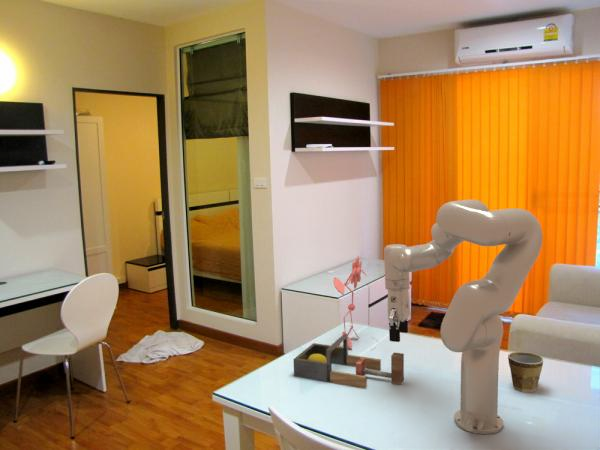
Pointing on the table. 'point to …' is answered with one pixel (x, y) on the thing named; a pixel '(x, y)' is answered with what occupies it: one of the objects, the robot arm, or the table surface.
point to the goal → (321, 369)
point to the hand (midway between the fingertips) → (399, 336)
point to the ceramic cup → (525, 370)
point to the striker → (395, 374)
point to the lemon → (317, 358)
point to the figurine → (339, 286)
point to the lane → (353, 378)
